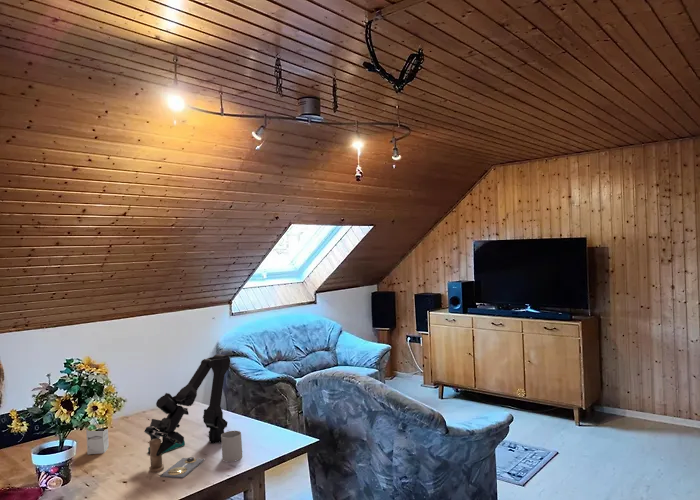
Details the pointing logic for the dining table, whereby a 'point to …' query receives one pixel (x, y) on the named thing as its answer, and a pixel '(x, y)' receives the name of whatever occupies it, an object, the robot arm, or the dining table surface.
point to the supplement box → (97, 441)
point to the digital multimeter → (174, 446)
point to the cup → (231, 446)
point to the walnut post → (155, 460)
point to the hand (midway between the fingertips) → (153, 454)
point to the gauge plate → (182, 468)
